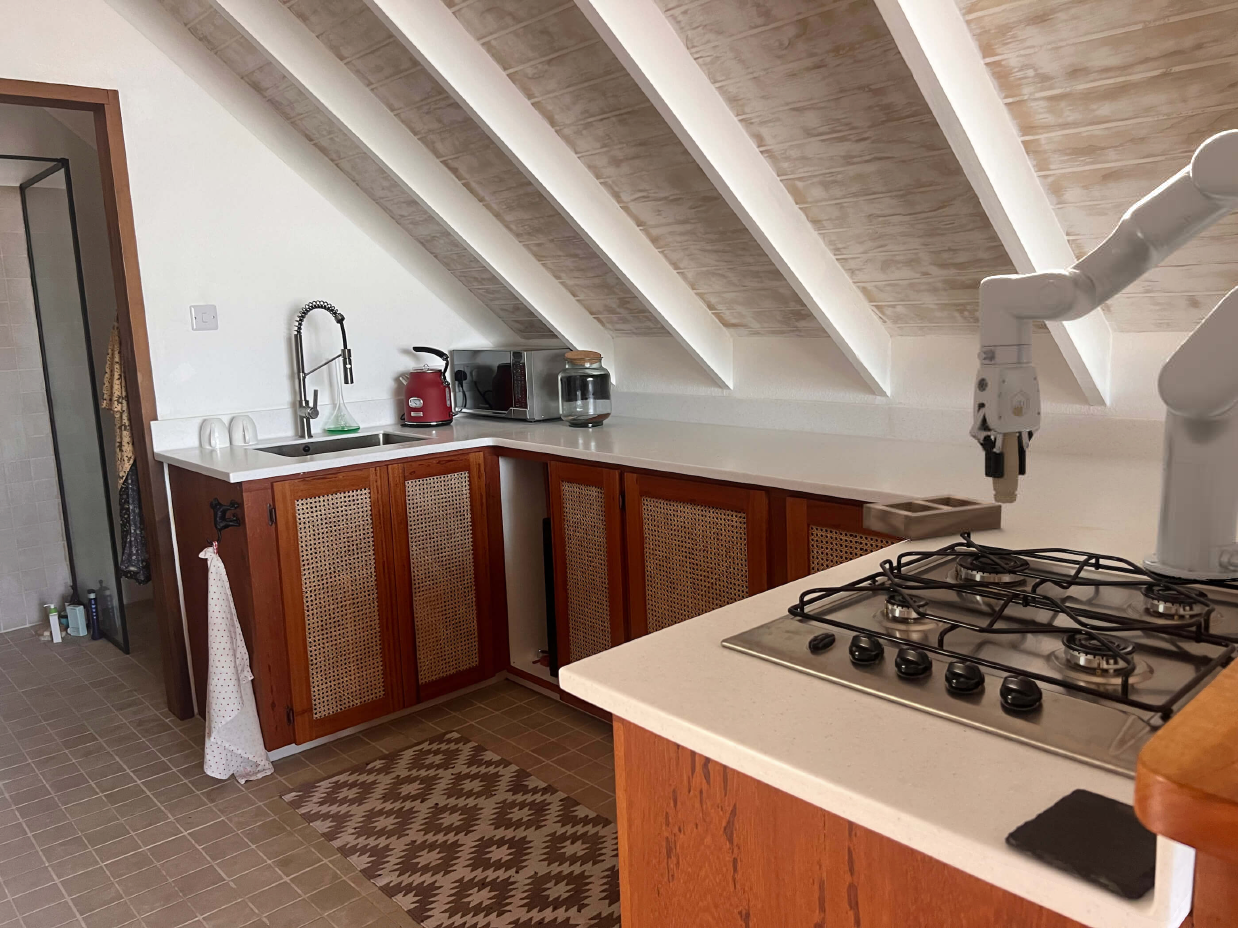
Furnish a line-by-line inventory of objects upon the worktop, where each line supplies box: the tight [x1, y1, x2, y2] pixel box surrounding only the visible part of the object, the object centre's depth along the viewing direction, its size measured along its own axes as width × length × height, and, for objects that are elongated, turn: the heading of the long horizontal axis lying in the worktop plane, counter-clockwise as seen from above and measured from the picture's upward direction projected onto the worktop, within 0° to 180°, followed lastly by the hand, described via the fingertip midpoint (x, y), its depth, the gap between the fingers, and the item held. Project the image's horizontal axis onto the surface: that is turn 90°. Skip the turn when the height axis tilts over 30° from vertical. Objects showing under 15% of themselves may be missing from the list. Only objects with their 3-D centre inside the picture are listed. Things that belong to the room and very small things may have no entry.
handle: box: [991, 406, 1023, 504], centre depth 148 cm, size 5×6×15 cm
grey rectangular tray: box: [862, 493, 1002, 541], centre depth 166 cm, size 12×20×4 cm, turn 116°
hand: (1005, 474), depth 149 cm, fingers closed on handle, 4 cm apart
